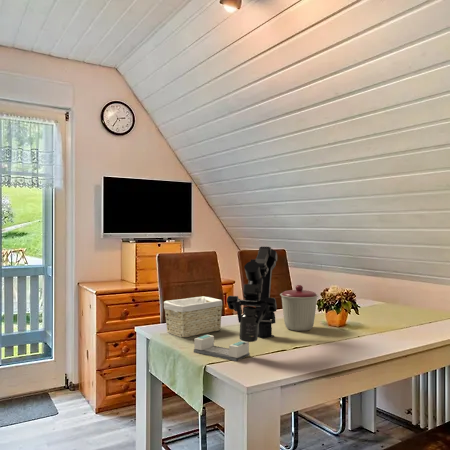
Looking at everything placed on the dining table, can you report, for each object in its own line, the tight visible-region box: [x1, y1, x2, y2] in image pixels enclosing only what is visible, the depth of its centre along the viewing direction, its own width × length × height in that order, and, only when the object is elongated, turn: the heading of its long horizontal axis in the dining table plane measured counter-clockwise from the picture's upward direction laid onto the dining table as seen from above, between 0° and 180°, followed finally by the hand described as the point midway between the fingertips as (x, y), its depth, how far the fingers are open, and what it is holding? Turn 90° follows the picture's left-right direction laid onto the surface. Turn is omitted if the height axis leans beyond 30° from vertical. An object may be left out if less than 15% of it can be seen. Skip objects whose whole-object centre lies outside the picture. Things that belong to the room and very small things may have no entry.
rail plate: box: [193, 345, 251, 362], centre depth 166 cm, size 20×9×1 cm, turn 55°
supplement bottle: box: [239, 306, 259, 343], centre depth 161 cm, size 7×7×12 cm
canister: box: [279, 284, 319, 332], centre depth 208 cm, size 18×18×21 cm
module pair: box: [193, 334, 250, 358], centre depth 166 cm, size 20×8×4 cm, turn 55°
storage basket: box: [163, 295, 223, 338], centre depth 201 cm, size 24×16×15 cm
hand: (248, 322), depth 160 cm, fingers closed on supplement bottle, 7 cm apart
